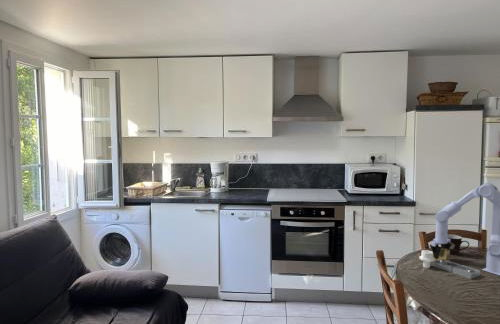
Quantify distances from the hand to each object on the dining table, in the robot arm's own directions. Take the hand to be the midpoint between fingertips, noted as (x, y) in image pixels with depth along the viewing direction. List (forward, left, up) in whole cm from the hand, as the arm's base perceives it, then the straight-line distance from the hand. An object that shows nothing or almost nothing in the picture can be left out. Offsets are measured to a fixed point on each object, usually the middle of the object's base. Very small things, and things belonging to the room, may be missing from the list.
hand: (440, 257), depth 190 cm
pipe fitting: (-2, +16, -2) cm, 16 cm away
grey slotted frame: (-13, +8, -2) cm, 15 cm away
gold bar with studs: (0, 0, -2) cm, 2 cm away
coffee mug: (+1, -16, -2) cm, 16 cm away
